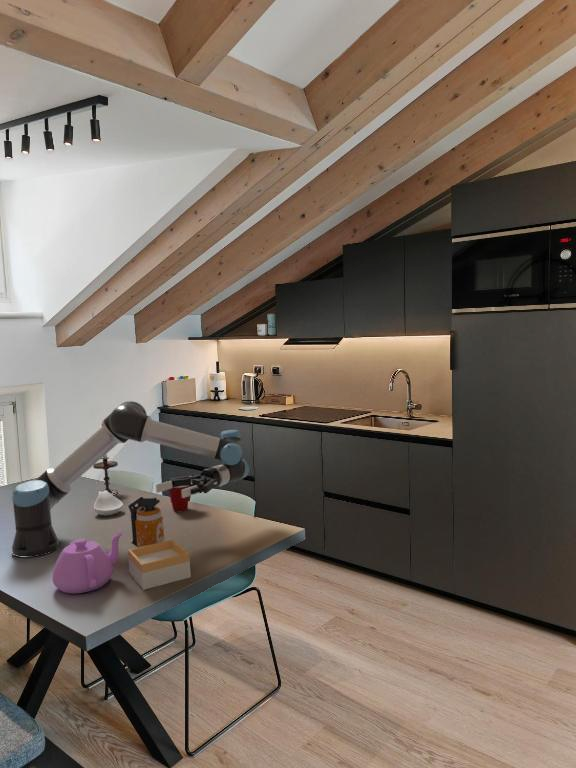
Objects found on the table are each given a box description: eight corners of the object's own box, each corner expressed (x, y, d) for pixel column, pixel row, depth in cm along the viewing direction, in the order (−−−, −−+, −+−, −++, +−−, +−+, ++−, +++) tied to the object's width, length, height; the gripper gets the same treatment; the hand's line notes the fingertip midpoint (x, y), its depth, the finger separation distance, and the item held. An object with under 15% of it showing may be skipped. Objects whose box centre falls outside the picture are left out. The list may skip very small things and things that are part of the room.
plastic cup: (181, 515, 244) (179, 486, 243) (162, 511, 249) (160, 483, 248) (199, 507, 253) (197, 479, 252) (179, 504, 259) (178, 477, 257)
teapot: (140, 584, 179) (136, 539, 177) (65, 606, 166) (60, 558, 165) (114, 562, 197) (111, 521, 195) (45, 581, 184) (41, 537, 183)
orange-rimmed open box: (143, 589, 175) (141, 564, 174) (129, 573, 187) (127, 549, 186) (190, 577, 182) (189, 553, 181) (174, 562, 194) (172, 539, 194)
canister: (158, 562, 195) (154, 501, 193) (127, 561, 197) (122, 501, 195) (169, 551, 204) (165, 494, 202) (139, 550, 206) (135, 493, 204)
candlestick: (113, 489, 289) (107, 417, 286) (124, 493, 281) (118, 419, 278) (91, 494, 282) (85, 420, 278) (102, 498, 274) (96, 422, 270)
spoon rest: (126, 515, 248) (125, 498, 248) (97, 520, 243) (95, 503, 242) (114, 501, 269) (113, 485, 269) (87, 506, 264) (85, 490, 263)
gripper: (239, 491, 215) (194, 507, 199) (192, 482, 231) (147, 497, 215) (238, 470, 214) (192, 485, 198) (191, 463, 230) (145, 476, 214)
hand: (169, 491), depth 206 cm, fingers open, 13 cm apart
